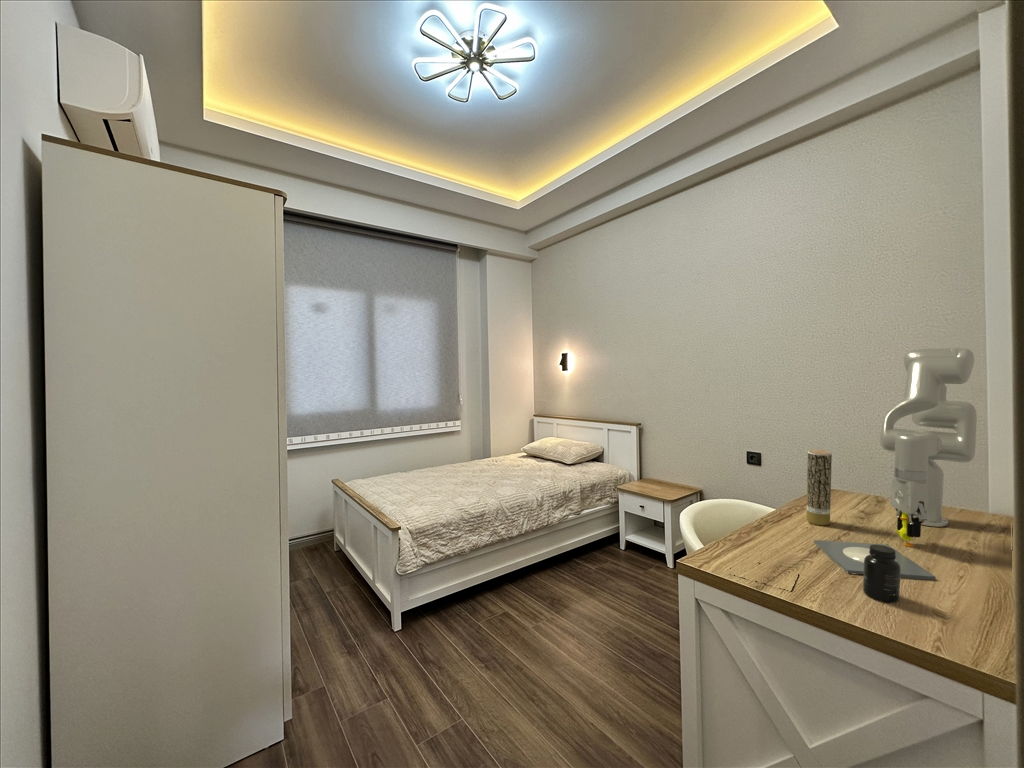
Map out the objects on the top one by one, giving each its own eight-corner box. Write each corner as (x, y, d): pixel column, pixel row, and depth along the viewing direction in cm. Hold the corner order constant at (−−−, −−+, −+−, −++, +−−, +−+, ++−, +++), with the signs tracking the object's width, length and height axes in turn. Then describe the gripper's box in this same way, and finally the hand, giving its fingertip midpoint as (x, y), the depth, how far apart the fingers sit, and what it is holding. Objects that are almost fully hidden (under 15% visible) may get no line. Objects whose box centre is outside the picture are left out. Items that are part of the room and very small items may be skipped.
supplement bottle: (855, 589, 111) (857, 543, 110) (880, 588, 111) (882, 541, 111) (880, 605, 104) (882, 555, 103) (907, 603, 105) (909, 553, 104)
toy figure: (924, 546, 134) (924, 507, 134) (924, 550, 132) (925, 510, 131) (894, 541, 139) (895, 503, 138) (894, 544, 136) (895, 506, 136)
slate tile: (813, 543, 138) (813, 539, 138) (887, 547, 134) (887, 543, 134) (847, 573, 119) (847, 569, 119) (935, 580, 115) (935, 575, 115)
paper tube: (833, 526, 151) (835, 454, 150) (811, 525, 152) (813, 453, 151) (824, 519, 158) (825, 450, 156) (802, 518, 159) (804, 449, 158)
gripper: (879, 467, 143) (878, 522, 144) (914, 481, 127) (912, 544, 128) (906, 468, 142) (905, 524, 143) (945, 483, 125) (943, 546, 127)
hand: (908, 533), depth 136 cm, fingers open, 3 cm apart
